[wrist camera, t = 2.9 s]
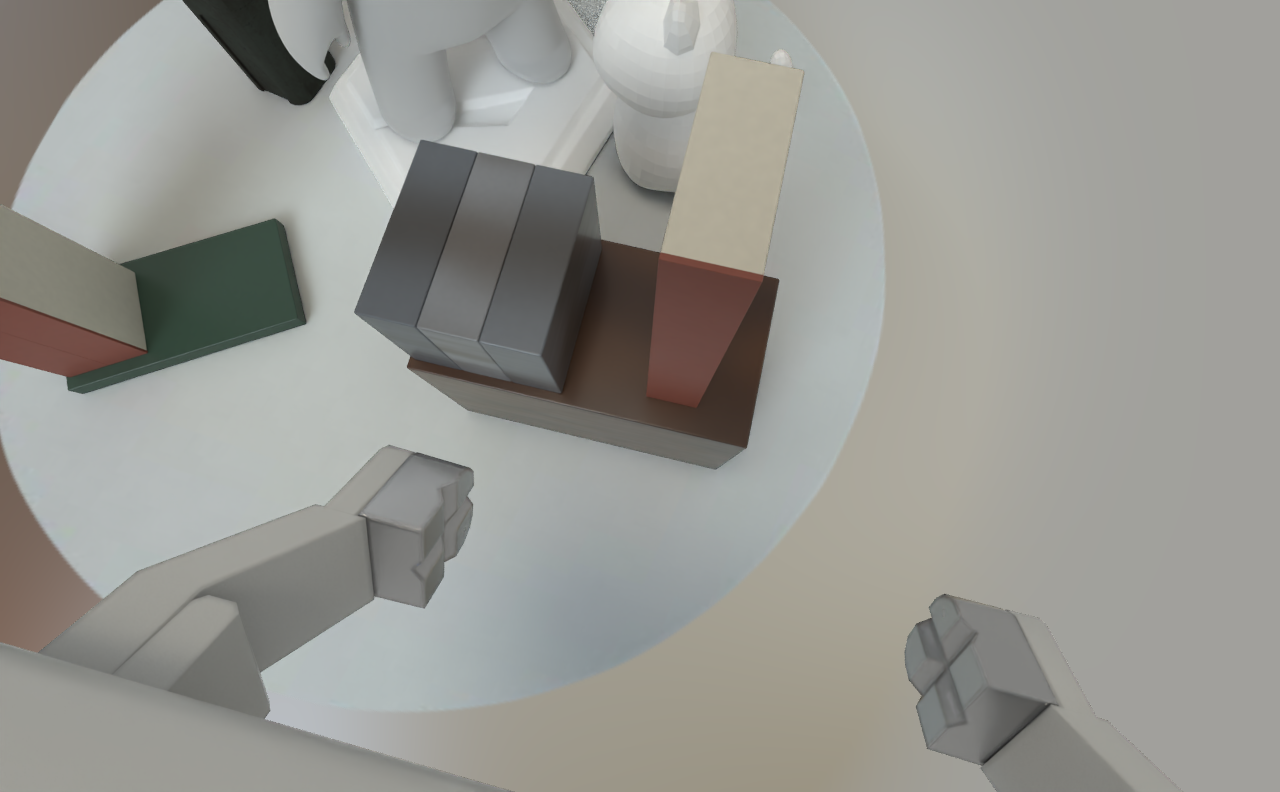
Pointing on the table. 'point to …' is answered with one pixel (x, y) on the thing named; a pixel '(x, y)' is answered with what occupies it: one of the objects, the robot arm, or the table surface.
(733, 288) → the white book
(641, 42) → the cat figurine
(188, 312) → the green book holder
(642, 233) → the table surface
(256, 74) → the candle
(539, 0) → the white toy figurine
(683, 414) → the grey stand
